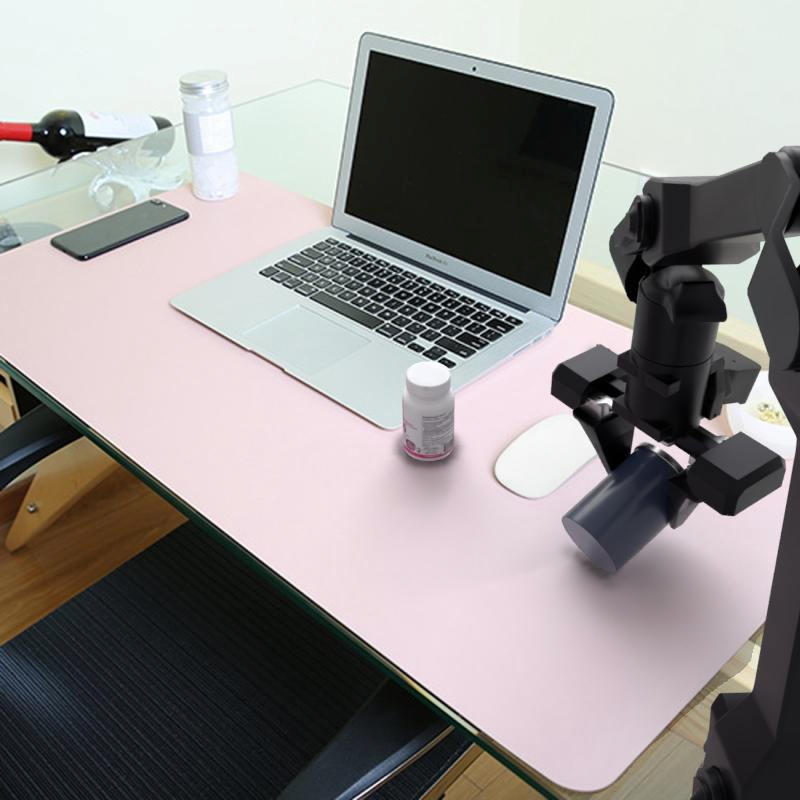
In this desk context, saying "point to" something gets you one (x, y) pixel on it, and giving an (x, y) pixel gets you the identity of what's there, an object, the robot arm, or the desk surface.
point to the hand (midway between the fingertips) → (646, 504)
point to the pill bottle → (428, 412)
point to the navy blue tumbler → (623, 509)
